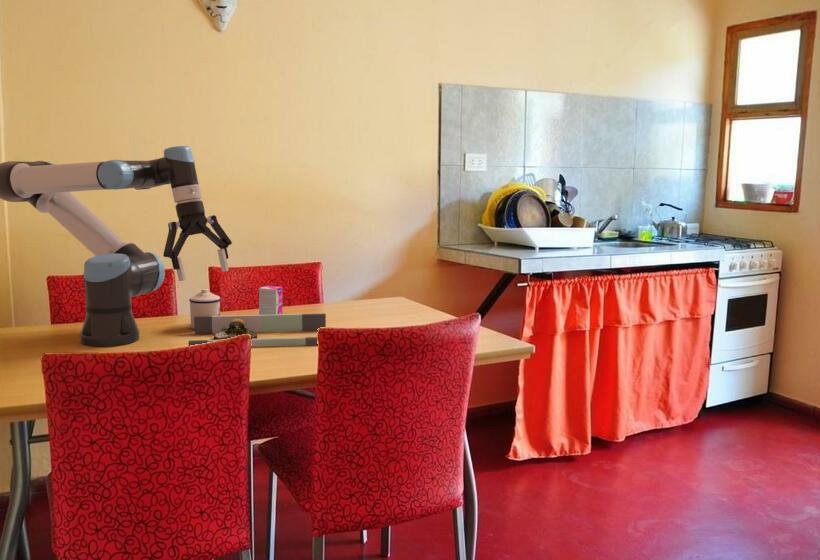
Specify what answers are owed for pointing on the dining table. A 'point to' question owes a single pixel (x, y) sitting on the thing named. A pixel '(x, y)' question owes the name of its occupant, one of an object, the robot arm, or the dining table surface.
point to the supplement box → (270, 300)
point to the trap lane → (264, 327)
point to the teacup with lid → (204, 305)
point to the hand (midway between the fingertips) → (204, 275)
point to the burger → (234, 330)
